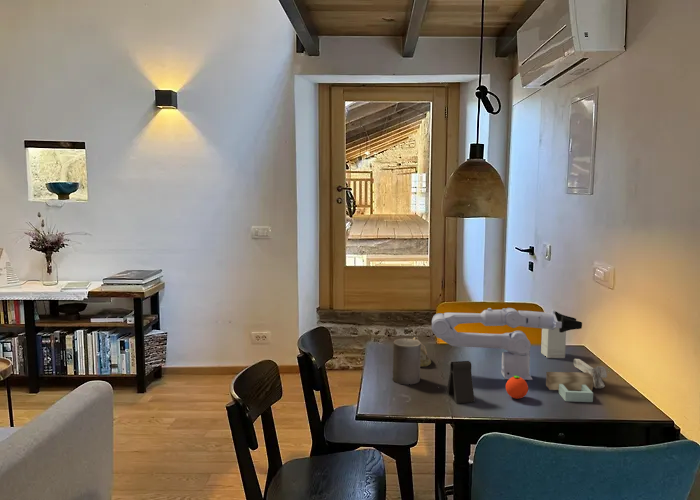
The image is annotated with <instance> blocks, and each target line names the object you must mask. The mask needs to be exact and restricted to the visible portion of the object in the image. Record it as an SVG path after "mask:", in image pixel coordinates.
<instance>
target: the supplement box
mask: <svg viewBox="0 0 700 500" xmlns="http://www.w3.org/2000/svg"><path fill="white" fill-rule="evenodd" d="M566 339H567V331H565V332H559V328H555V329H554V330H551V329H543V328H541V342H540V344H541V346H540V347H541V348H540V353H541V354H542V355H543V356H544V357H545V356H546V357H545V358H547V359H565V358H566V344H567V343H566V342H567V341H566Z"/></svg>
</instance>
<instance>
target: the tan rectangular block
mask: <svg viewBox="0 0 700 500" xmlns="http://www.w3.org/2000/svg"><path fill="white" fill-rule="evenodd" d="M559 384H563V385H564V386H565V387H566V388H567V390H568V391H581V388H582V385H586V386H587V387H588V388H589V389H590V390H591V391H592V392H593V386H594V385H593V384H594V382H593V376H592V375H591V374H589V373H584V372H583V371H579V372H576V371H575V372H573V371H571V372H570V371H565V372H564V371H546V375H545V386H546V387H547V388H548V390H550V391H559Z"/></svg>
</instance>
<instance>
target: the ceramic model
mask: <svg viewBox="0 0 700 500" xmlns="http://www.w3.org/2000/svg"><path fill="white" fill-rule="evenodd" d="M412 339H414V340H418V341H419V342H421V341H420V339H419V337H418V336H414V337H413V338H412ZM420 352H421V353H420V367H429V366H430V365H431V363H432V360H431V359H430V357H429V355H428V352H427V348H426V346H425V345H424V344H423V343H422V342H421V351H420Z"/></svg>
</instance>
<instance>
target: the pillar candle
mask: <svg viewBox="0 0 700 500" xmlns="http://www.w3.org/2000/svg"><path fill="white" fill-rule="evenodd" d="M418 340H419V339H418ZM418 340H414V339H413V338H405V337H404V338H397V339H395V340H394V341H393V344H392V345H393V346H392V347H393V349H392V350H393V351H392V381H393V382H395V383H396V384H400V385H406V386H407V385H409V384H410V385H416V384H418V383H420V382H421V366H420V353H421V352H420V351H421V343H422V342H421V341H420V340H419V341H420V342H419V341H418Z"/></svg>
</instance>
